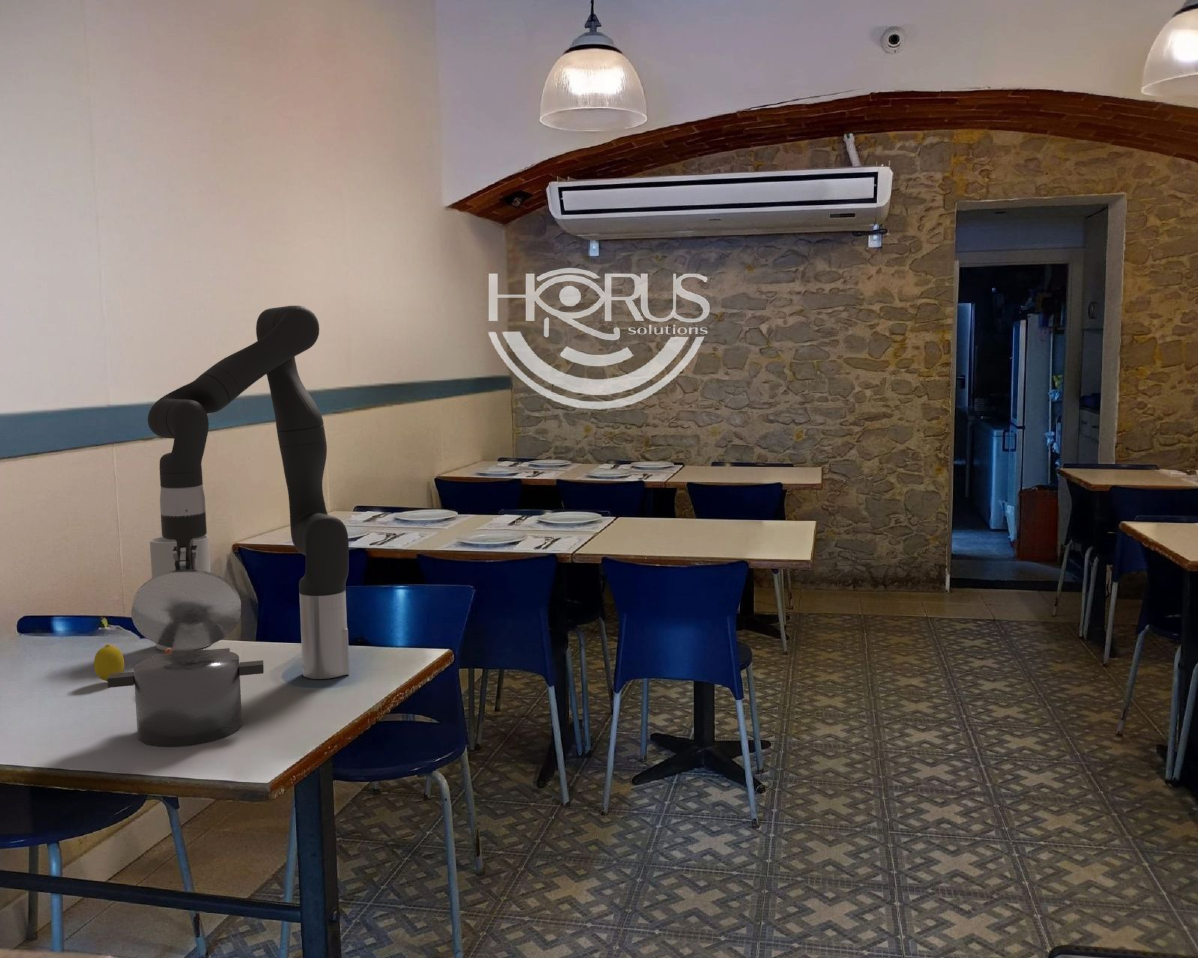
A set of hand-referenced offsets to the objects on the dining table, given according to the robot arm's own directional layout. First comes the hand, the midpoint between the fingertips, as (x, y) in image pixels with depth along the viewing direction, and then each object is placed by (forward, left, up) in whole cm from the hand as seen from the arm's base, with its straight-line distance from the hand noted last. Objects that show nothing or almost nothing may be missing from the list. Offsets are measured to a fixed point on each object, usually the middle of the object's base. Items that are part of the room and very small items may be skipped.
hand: (188, 604), depth 188 cm
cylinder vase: (+6, -54, -20) cm, 58 cm away
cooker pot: (0, +9, -20) cm, 22 cm away
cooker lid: (0, +5, 0) cm, 5 cm away
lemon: (+18, -27, -20) cm, 38 cm away
